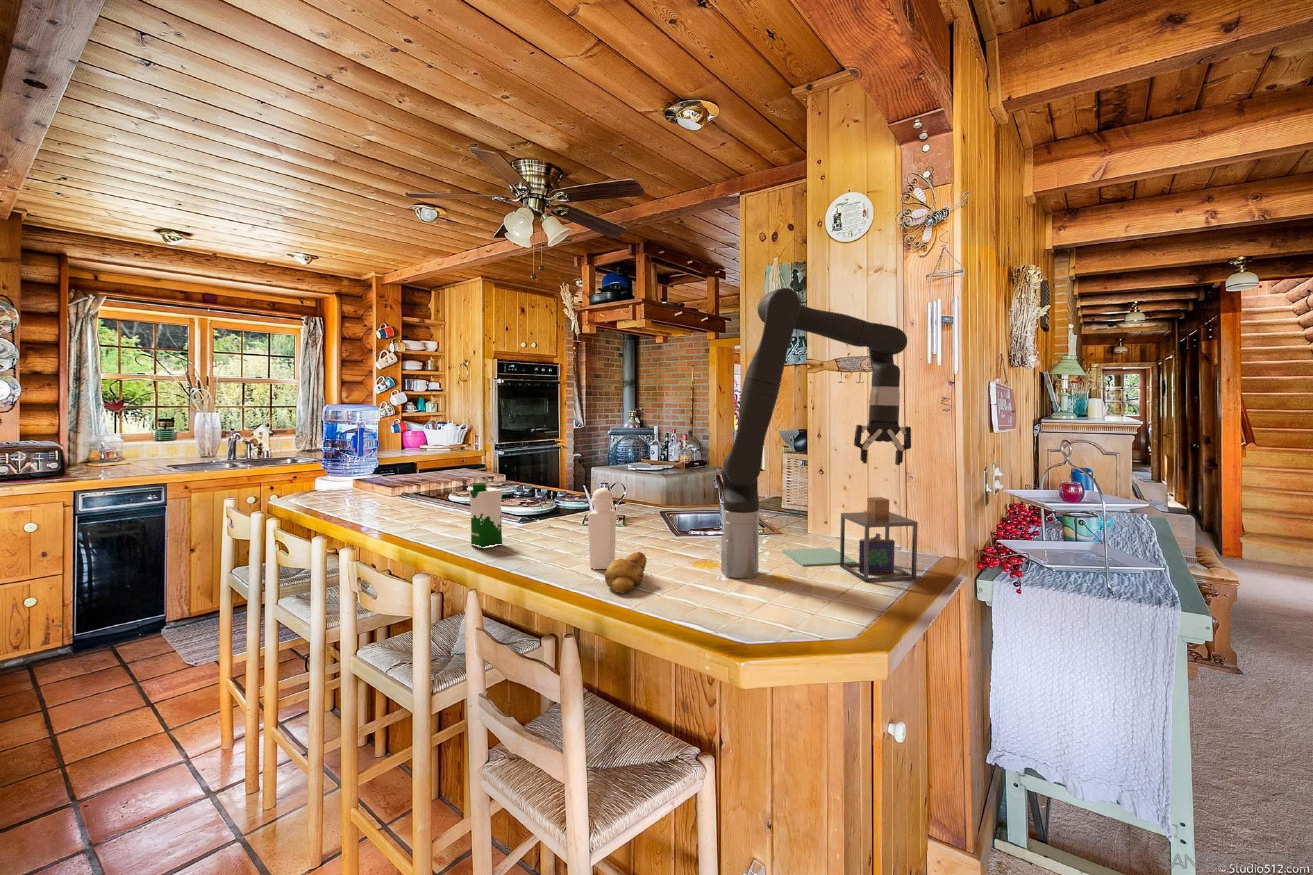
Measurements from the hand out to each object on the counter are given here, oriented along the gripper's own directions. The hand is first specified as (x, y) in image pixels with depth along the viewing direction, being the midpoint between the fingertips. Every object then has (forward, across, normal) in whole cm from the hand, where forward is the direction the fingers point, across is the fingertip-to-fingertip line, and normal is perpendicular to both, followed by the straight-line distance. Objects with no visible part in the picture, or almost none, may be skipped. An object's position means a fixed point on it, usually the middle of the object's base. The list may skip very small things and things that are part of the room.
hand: (881, 464), depth 159 cm
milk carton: (+32, -116, +12) cm, 121 cm away
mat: (+29, -14, +10) cm, 34 cm away
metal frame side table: (+29, -1, -4) cm, 29 cm away
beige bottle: (+31, -74, -7) cm, 81 cm away
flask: (+29, 0, -4) cm, 29 cm away
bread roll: (+31, -66, -24) cm, 76 cm away
